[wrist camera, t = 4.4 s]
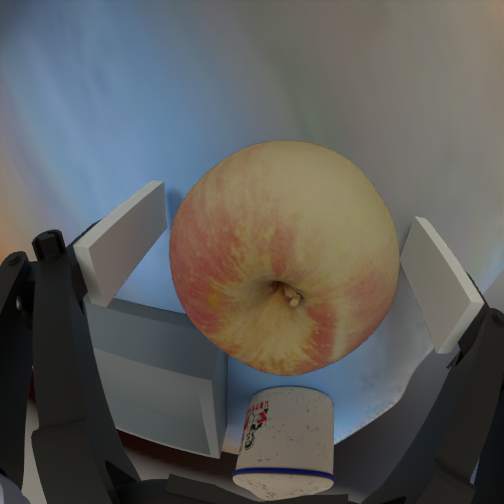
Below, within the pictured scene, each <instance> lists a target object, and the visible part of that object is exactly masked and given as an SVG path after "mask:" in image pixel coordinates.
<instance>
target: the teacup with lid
mask: <svg viewBox="0 0 504 504" xmlns="http://www.w3.org/2000/svg"><path fill="white" fill-rule="evenodd" d="M333 447H334V405H333V402H332V400H331V399H330V398H329V397H328V396H327V395H325V394H324V393H322V392H319V391H317V390H313V389H309V388H304V387H294V386H285V387H274V388H269V389H266V390H263V391H260V392H258V393H256V394H255V395H254V396H252V398H251V399H250V400H249V403H248V409H247V414H246V419H245V425H244V430H243V435H242V440H241V446H240V451H239V456H238V461H237V466H236V470H235V471H234V472H233V473H232V476H233V480H234V482H235V483H236V484H237V485H239V486H241V487H244V488H246V489H248V490H250V491H251V492H253V493H254V494H255V495H256V496H258V497H259V498H261V499H264V500H268V501H273V500H280V499H287V498H293V497H298V496H304V495H312V494H315V493H317V492H320V491H324V490H327V489H329V488H330V487H331V486H332V485H333V482H334V481H335V476H333Z"/></svg>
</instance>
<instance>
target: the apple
mask: <svg viewBox="0 0 504 504" xmlns="http://www.w3.org/2000/svg"><path fill="white" fill-rule="evenodd" d="M169 256H170V268H171V274H172V279H173V283H174V286H175V290H176V293H177V295H178V298H179V300H180V302H181V304H182V306H183V308H184V310H185V312H186V314H187V315H188V317H189V318H190V320H191V321H192V323H193V324H194V325H195V326H196V327H197V329H198V330H199V331H200V332H201V333H202V334H203V335H204V336H205V337H207V338H208V339H209V340H210V341H211V342H212V343H213V344H215V345H216V346H217V347H218V348H220V349H221V350H223V351H224V352H226V353H227V354H229V355H230V356H232V357H233V358H235V359H237V360H239V361H241V362H242V363H244V364H246V365H248V366H250V367H252V368H254V369H256V370H259V371H261V372H264V373H268V374H274V375H280V376H292V375H301V374H305V373H309V372H312V371H315V370H318V369H320V368H323V367H325V366H327V365H329V364H332V363H334V362H336V361H338V360H340V359H342V358H343V357H345V356H346V355H348V354H349V353H351V352H352V351H353V350H355V349H356V348H357V347H359V346H360V345H361V344H362V343H363V342H364V341H366V339H367V338H368V337H369V336H370V335H371V334H372V333H373V332H374V331H375V330H376V328H377V327H378V326H379V325H380V323H381V322H382V320H383V319H384V317H385V316H386V314H387V313H388V311H389V309H390V306H391V304H392V302H393V299H394V297H395V293H396V289H397V285H398V278H399V266H400V253H399V242H398V237H397V232H396V228H395V224H394V221H393V219H392V217H391V214H390V212H389V210H388V208H387V207H386V205H385V203H384V201H383V199H382V198H381V196H380V195H379V193H378V192H377V191H376V189H375V187H374V186H373V184H372V183H371V182H370V180H369V179H368V178H367V177H366V175H365V174H364V173H363V172H362V171H361V170H360V169H359V168H358V167H357V166H356V165H355V164H353V163H352V162H351V161H350V160H348V159H347V158H345V157H344V156H342V155H340V154H338V153H336V152H335V151H333V150H331V149H328V148H325V147H322V146H319V145H316V144H312V143H308V142H301V141H269V142H263V143H259V144H255V145H252V146H249V147H246V148H244V149H242V150H240V151H237V152H236V153H234V154H232V155H230V156H228V157H227V158H225V159H224V160H222V161H221V162H220V163H218V164H217V165H215V166H214V167H213V168H212V169H210V170H209V171H208V172H207V173H206V174H205V175H204V176H203V177H202V178H201V179H200V180H199V181H198V182H197V183H196V184H195V185H194V186H193V187H192V189H191V190H190V191H189V192H188V194H187V195H186V197H185V198H184V199H183V201H182V202H181V204H180V206H179V208H178V211H177V213H176V216H175V219H174V222H173V225H172V229H171V235H170V252H169Z"/></svg>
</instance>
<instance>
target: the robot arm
mask: <svg viewBox="0 0 504 504" xmlns="http://www.w3.org/2000/svg"><path fill="white" fill-rule="evenodd" d="M166 228H167V220H166V206H165V190H164V181H153V180H151V181H150V182H148V183H147V184H146V185H144V186H143V187H142V188H140V189H139V190H138V191H137V192H135V193H134V194H133V195H131V196H130V197H129V198H128V199H126V200H125V201H124V202H123V203H121V204H120V205H119V206H118V207H116V208H115V209H114V210H113V211H112V212H110V213H109V214H108V215H107V216H106V217H104V218H103V219H101V220H99V221H97V222H96V223H94V224H92V225H91V226H90V227H89V228H87V229H86V231H84V232H83V233H82V234H81V236H78V237H77V238H76V239H75V240H74V241H73V242H72V243H71V244H70V245H68V246H67V247H65V243H64V240H63V236H62V233H61V231H59V230H49V231H46V232H43V233H41V234H39V235H38V236H36V237H35V238H34V239H33V241H32V246H33V249H34V252H35V255H36V257H37V260H38V261H32V262H29V260H28V257H27V255H26V252H23V251H18V252H13V253H11V254H10V255H9V256H8V257H7V258H5V260H4V261H3V262H2V264H1V266H0V504H30V502H29V500H28V499H27V498H26V497H25V496H23V494H22V492H21V490H22V484H23V475H24V444H25V443H24V441H25V422H26V411H27V401H28V393H29V386H30V379H31V373H32V367H33V372H34V385H35V394H36V404H37V411H38V418H39V429H37V430H35V431H33V433H32V436H31V439H32V448H33V453H34V458H35V461H36V466H37V470H38V474H39V478H40V482H41V485H42V488H43V492H44V495H45V498H46V501H47V504H358V503H355V502H351V501H348V494H342V495H341V494H340V495H304V496H298V497H293V498H287V499H280V500H273V501H265V502H257V501H253V500H250V499H248V498H245V497H243V496H240V495H237V494H235V493H232V492H230V491H227V490H225V489H223V488H220V487H218V486H216V485H213V484H209V483H204V482H200V481H196V480H191V479H188V478H184V477H180V476H176V475H173V474H170V475H169V478H168V479H151V480H143V481H141V479H140V477H139V475H138V473H137V471H136V469H135V467H134V466H133V464H132V462H131V461H130V459H129V458H128V456H127V454H126V453H125V451H124V448H123V446H122V443H121V441H120V438H119V436H118V433H117V430H116V427H115V424H114V422H113V419H112V416H111V413H110V410H109V406H108V403H107V400H106V397H105V393H104V390H103V386H102V383H101V379H100V375H99V371H98V367H97V363H96V359H95V355H94V350H93V346H92V341H91V336H90V331H89V325H88V319H87V313H86V307H85V303H84V300H83V297H84V296H85V295H86V294H87V292H88V295H89V298H90V300H91V303H92V304H95V305H99V306H102V307H107V306H108V304H109V303H110V302H111V300H112V299H113V297H114V296H115V295H116V293H117V292H118V290H119V289H120V288H121V286H122V285H123V284H124V282H125V281H126V280H127V278H128V277H129V276H130V274H131V273H132V272H133V270H134V269H135V268H136V266H137V265H138V264H139V262H140V261H141V260H142V258H143V257H144V256H145V255H146V253H147V252H148V251H149V250H150V248H151V247H152V246H153V244H154V243H155V242H156V241H157V239H158V238H159V237H160V236H161V235H162V233H163V232H164V231H165V230H166ZM400 263H401V265H402V268H403V270H404V272H405V274H406V276H407V279H408V281H409V283H410V286H411V288H412V290H413V293H414V295H415V297H416V300H417V302H418V305H419V307H420V310H421V312H422V315H423V317H424V320H425V323H426V325H427V328H428V331H429V333H430V336H431V339H432V342H433V345H434V348H435V351H436V353H451V351H452V350H453V348H454V347H455V346H456V345H457V343H458V345H459V347H460V351H459V352H458V354H457V355H456V356H455V358H454V359H453V360H452V361H451V363H450V364H449V365H448V366H447V368H448V369H449V367H450V366H451V369H450V371H449V373H448V376H447V378H446V380H445V382H444V385H443V386H442V389H441V391H440V393H439V395H438V397H437V399H436V401H435V403H434V405H433V407H432V409H431V410H430V412H429V414H428V416H427V418H426V420H425V421H424V423H423V425H422V426H421V428H420V430H419V432H418V433H417V435H416V437H415V438H414V440H413V441H412V443H411V445H410V446H409V448H408V449H407V451H406V452H405V454H404V455H403V457H402V458H401V460H400V461H399V463H398V464H397V466H396V467H395V468H394V470H393V471H392V472H391V474H390V475H389V476H388V478H387V479H386V480H385V482H384V483H383V484H382V485H381V486H380V487H379V488H378V489H377V490H375V491H374V492H373V493H372V494H370V495H369V496H368V497H367V498H366V499H365V500H364V501H363V502H362V503H361V504H504V314H503V313H502V312H501V311H499V310H497V309H494V308H490V307H489V306H488V304H487V302H486V301H485V299H484V297H483V296H482V294H481V292H480V291H478V290H479V289H478V287H477V286H476V285H475V283H474V281H473V280H472V278H471V277H470V275H469V274H468V273H467V272H466V271H464V269H463V268H462V266H461V265H460V263H459V262H458V260H457V259H456V258H455V256H454V255H453V253H452V252H451V251H450V249H449V248H448V246H447V245H446V244H445V242H444V241H443V240H442V238H441V237H440V236H439V234H438V233H437V232H436V230H435V229H434V228H433V227H432V225H431V224H430V223H429V222H428V220H427V219H425V218H421V217H416V216H414V219H413V222H412V225H411V228H410V231H409V234H408V237H407V240H406V243H405V245H404V248H403V251H402V253H401V256H400ZM17 302H18V304H19V306H18V308H17ZM479 457H480V459H479ZM478 459H479V464H478V469H477V473H476V477H475V481H474V485H473V484H471V483H470V478H471V475H472V473H473V471H474V468H475V466H476V464H477V462H478Z"/></svg>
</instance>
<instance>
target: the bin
mask: <svg viewBox="0 0 504 504" xmlns="http://www.w3.org/2000/svg"><path fill="white" fill-rule="evenodd" d="M83 300H84V303H85V307H86V313H87V319H88V325H89V331H90V336H91V341H92V346H93V350H94V355H95V359H96V363H97V367H98V371H99V375H100V379H101V383H102V386H103V390H104V393H105V397H106V400H107V403H108V406H109V410H110V413H111V416H112V419H113V422H114V424H115V427H116V428H117V429H119V430H122V431H124V432H127V433H130V434H133V435H135V436H138V437H141V438H144V439H147V440H150V441H153V442H156V443H159V444H162V445H166V446H169V447H173V448H176V449H180V450H184V451H188V452H191V453H196V454H200V455H204V456H209V457H214V458H218V459H219V458H220V454H221V450H222V445H223V441H224V437H225V432H226V428H227V357H228V354H227V353H226V352H224V351H223V350H221V349H220V348H218V347H217V346H216V345H215V344H213V343H212V342H211V341H210V340H209V339H208V338H207V337H205V336H204V335H203V334H202V333H201V332H200V331H199V330H198V329H197V327H196V326H195V325H194V324H193V323H192V321H191V320H190V318H189V317H188V315H186V314H181V313H176V312H172V311H167V310H162V309H158V308H153V307H149V306H144V305H140V304H136V303H131V302H127V301H123V300H119V299H115V298H113V299H112V300H111V302H110V303H109V304H108V306H107V307H102V306H99V305H95V304H92V303H91V300H90V298H89V295H88V292H87V294H86V295H85V296H84V297H83ZM18 306H19V304H18V302H17V308H18Z"/></svg>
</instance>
